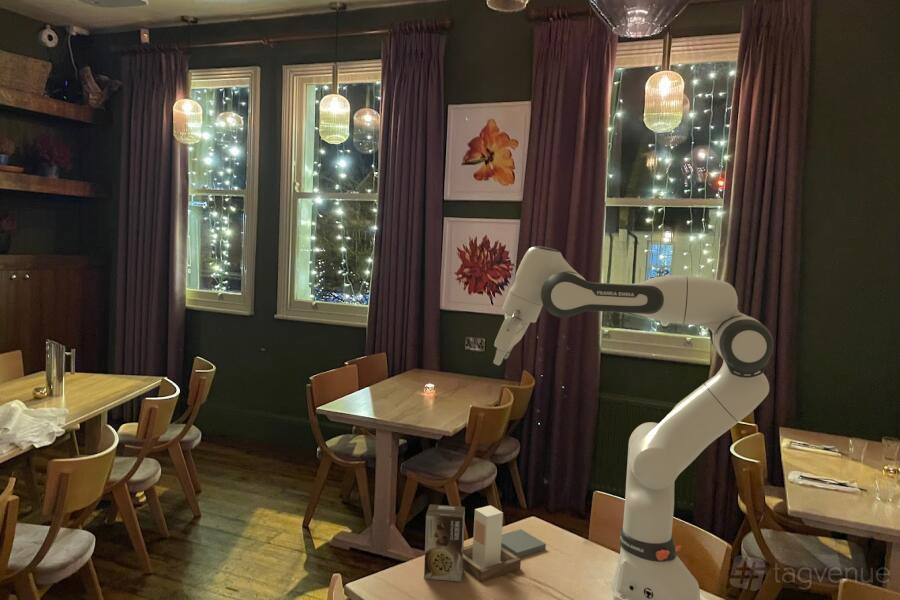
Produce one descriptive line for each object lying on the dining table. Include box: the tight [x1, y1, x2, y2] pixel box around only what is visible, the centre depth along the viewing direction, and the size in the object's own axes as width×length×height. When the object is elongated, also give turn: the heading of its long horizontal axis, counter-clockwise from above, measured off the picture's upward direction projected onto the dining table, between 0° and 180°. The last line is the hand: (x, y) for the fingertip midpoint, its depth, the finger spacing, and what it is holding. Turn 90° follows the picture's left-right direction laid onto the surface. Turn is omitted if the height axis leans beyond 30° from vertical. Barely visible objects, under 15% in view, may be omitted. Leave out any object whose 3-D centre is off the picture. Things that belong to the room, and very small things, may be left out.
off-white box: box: [471, 505, 504, 568], centre depth 164 cm, size 5×5×14 cm
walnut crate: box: [463, 544, 522, 582], centre depth 165 cm, size 12×12×2 cm
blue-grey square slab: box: [501, 528, 547, 558], centre depth 176 cm, size 10×10×2 cm
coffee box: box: [423, 503, 466, 582], centre depth 159 cm, size 9×6×16 cm
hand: (500, 360), depth 161 cm, fingers open, 8 cm apart
